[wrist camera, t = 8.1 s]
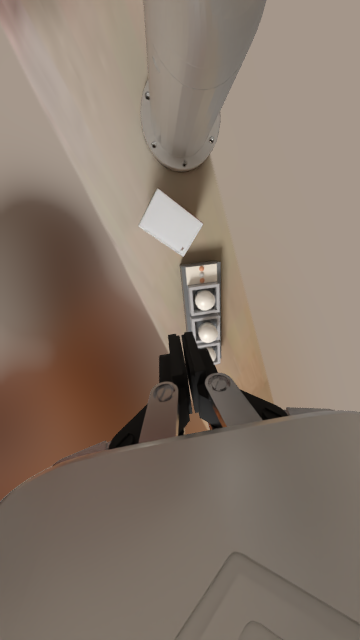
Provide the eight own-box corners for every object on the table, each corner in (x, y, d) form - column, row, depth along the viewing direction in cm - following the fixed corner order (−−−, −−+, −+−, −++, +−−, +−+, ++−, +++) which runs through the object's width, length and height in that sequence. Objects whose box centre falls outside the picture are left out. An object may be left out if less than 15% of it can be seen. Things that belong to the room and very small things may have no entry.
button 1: (197, 346, 42) (199, 351, 40) (213, 344, 42) (216, 348, 41) (198, 359, 44) (200, 364, 42) (214, 357, 44) (216, 362, 42)
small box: (192, 228, 35) (205, 223, 25) (177, 253, 37) (184, 258, 27) (157, 202, 32) (157, 185, 23) (143, 230, 34) (137, 225, 24)
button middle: (197, 323, 38) (199, 327, 36) (215, 321, 38) (217, 325, 36) (198, 339, 40) (200, 344, 38) (215, 336, 40) (218, 341, 38)
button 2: (193, 290, 36) (195, 293, 35) (212, 288, 37) (215, 290, 35) (194, 308, 38) (196, 311, 36) (212, 305, 38) (215, 309, 36)
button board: (179, 265, 37) (182, 268, 33) (216, 260, 38) (223, 263, 33) (189, 356, 48) (192, 368, 43) (217, 351, 48) (223, 363, 43)
